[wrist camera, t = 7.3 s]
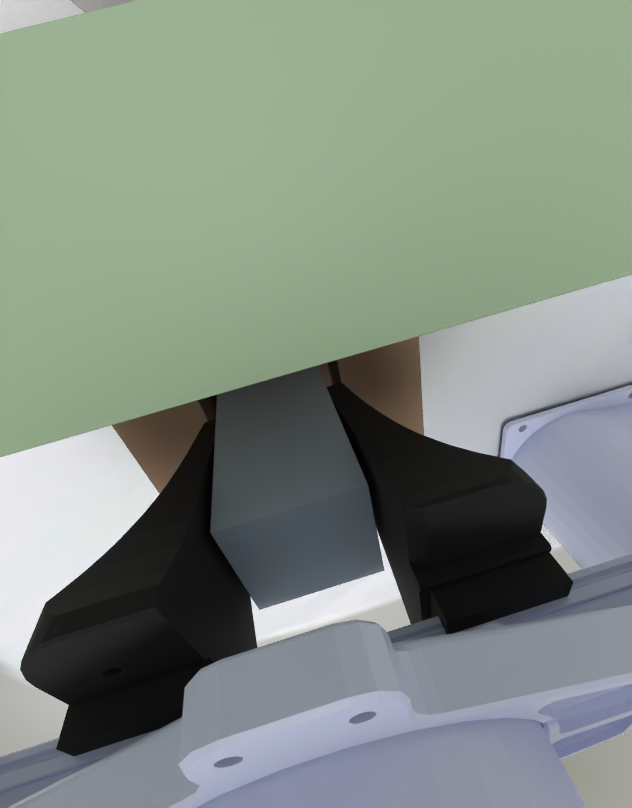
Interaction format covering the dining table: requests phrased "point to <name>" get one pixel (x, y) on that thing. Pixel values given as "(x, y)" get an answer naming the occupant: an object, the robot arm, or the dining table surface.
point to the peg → (289, 491)
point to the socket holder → (291, 198)
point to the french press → (98, 4)
